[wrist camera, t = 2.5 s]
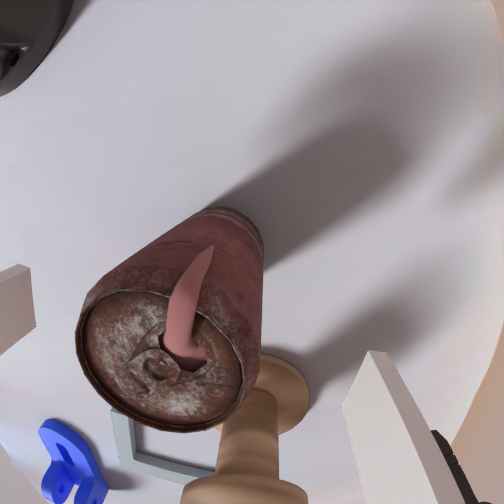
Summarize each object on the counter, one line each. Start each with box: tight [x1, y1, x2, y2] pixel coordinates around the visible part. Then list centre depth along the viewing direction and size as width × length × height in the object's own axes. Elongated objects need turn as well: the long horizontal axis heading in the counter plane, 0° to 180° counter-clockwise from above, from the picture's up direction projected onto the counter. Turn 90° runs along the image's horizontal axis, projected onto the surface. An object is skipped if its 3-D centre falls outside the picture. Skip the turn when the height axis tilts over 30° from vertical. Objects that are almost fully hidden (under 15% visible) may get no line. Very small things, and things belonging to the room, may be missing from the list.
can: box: [75, 207, 264, 433], centre depth 14 cm, size 6×6×14 cm
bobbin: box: [180, 353, 309, 504], centre depth 19 cm, size 10×10×12 cm
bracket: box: [38, 419, 109, 504], centre depth 27 cm, size 18×8×9 cm, turn 171°
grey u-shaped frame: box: [111, 407, 215, 485], centre depth 27 cm, size 12×15×2 cm
